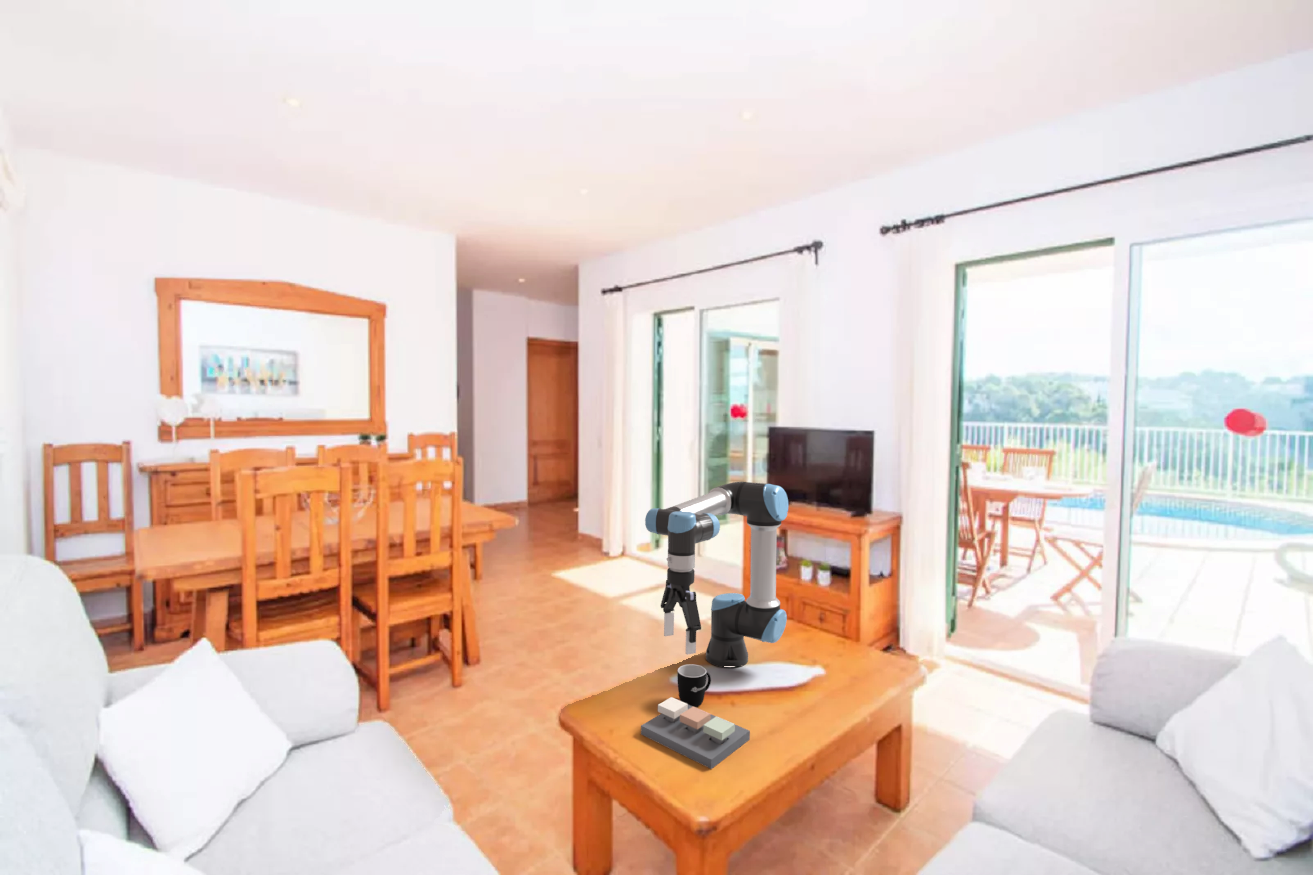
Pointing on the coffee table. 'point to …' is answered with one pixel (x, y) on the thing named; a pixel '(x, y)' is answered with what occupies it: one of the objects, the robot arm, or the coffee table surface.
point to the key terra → (695, 719)
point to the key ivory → (672, 709)
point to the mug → (692, 684)
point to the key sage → (719, 729)
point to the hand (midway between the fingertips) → (679, 644)
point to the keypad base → (693, 740)
